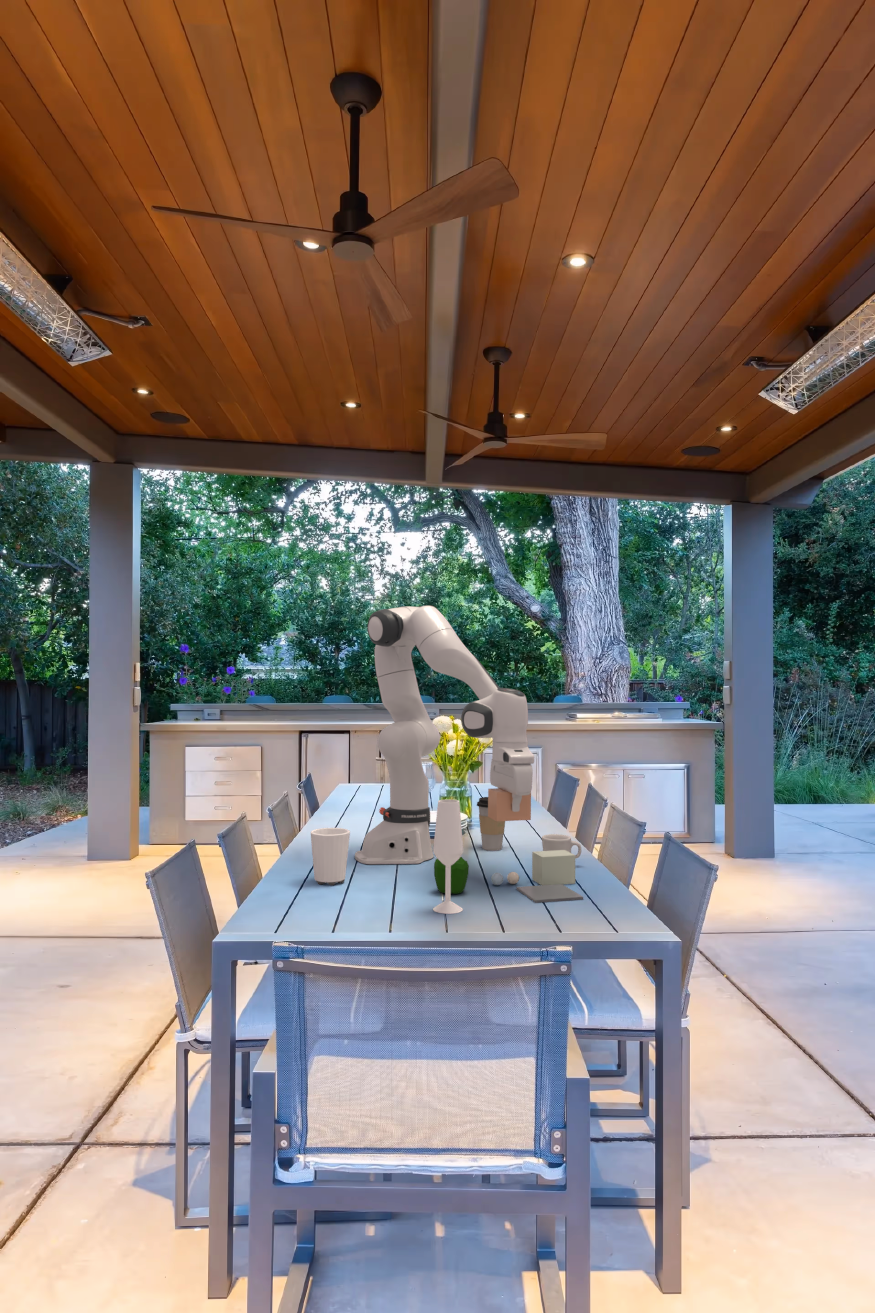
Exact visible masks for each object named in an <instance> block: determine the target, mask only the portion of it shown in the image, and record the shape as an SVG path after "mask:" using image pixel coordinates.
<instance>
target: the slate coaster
mask: <svg viewBox="0 0 875 1313" xmlns="http://www.w3.org/2000/svg"><path fill="white" fill-rule="evenodd" d="M516 891H518V892H519V893H520V894H522V895H524V896H525V895H526V896H527V897H526V896H525V897H526V898H528V899H529V900H531V901H532V900H533V903H535V904H539V903H549V902H550V903H553V902H566V901H578V900H581V901H582V900H584V896H583V895H581V894H579V893H578V892H576V891H575V890H573V889H571V888H570V887H568V886H567V885H565V884H555V885H540V884H539V885H530V886H529V885H528V886H527V885H526V886H516Z"/></svg>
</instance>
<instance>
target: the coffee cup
mask: <svg viewBox="0 0 875 1313" xmlns="http://www.w3.org/2000/svg"><path fill="white" fill-rule="evenodd" d="M476 806H477V807H478V813H479V814H478V820H479V831H480V832H479V833H480V834H481V835H480V836H481V845H482V846H481V847H482V850H484V851H490V852H491V851H492V852H493V851H494V852H495V851H496V852H497V851H501V850H502V849H503V841H504V833H505V827H506V826H505V825H506V821H495V820H493V819H491V818H489V817H488V796H482V797H480V798H478V801H476Z"/></svg>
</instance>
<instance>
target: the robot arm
mask: <svg viewBox="0 0 875 1313" xmlns="http://www.w3.org/2000/svg"><path fill="white" fill-rule="evenodd" d="M366 626H367V628H366V629H367V631H366V632H367V635H368V636H369V637H368V638H369V639H370V641H371V642H372V643H373V644H375V647H374V666H375V674H376V678H377V683H378V687H379V692H380V693H379V694H380V698H381V702H382V705H383V707H384V708H385V709H386V710H387V711H388V713H389V714H390V716H391V718H392V720H393V722H392V723H390V724H388V725H387V726H385V727H384V728H383V729H381V730H380V732H379V734H378V737H377V748H378V751H379V752H380V754H381V755H382V756H383V757H384V760H385V763H386V767H387V768H386V769H387V771H388V776H389V777H388V779H389V801H390V802H389V806H388V807H387V808H385V807H384V806H383V807H380V808H379V810H378V811H379V812H378V813H379V814H380V815H382V821H381V822H380V823H378V824H377V825H376V826H375V827H373V828H372V829H371V830H369V831H368V832H367V833H366V834H365V836H364V839H363V844H362V848H361V850H357V851H356V852H355V853H354V859H355V860H356V861H357V862H359V863H361V864H365V865H400V864H401V865H405V864H406V865H409V864H411V865H414V864H415V865H416V864H421V863H423V862H425V861H429V860H431V859H433V858H434V856H435V854H434V851H433V848H432V842H431V836H430V826H431V810H430V809H431V807H430V806H429V795H430V794H429V789H430V788H429V784H430V783H429V779H428V777H427V775H426V773H425V771H424V768H423V763H422V758H424V757H426V756H428V755H429V754H431V753H433V752H434V751H435V750H436V749H437V748H438V746H439V745H440V741H441V735H440V734H441V733H440V732H439V729H438V726H436V725H435V724H434V723H433V721H432V720H431V718H430V716H429V713H428V711H427V709H426V707H425V704H424V702H423V700H422V697H421V694H420V690H419V689H420V688H419V686H418V684H419V683H418V680H417V677H416V671H415V667H414V663H413V660H412V651H413V649H414V648H417V649H418V651H419V653H420V655H421V657H422V658H423V660H424V661H425V663H426V664H427V665H428V666H429V668H431V669H432V670H433V671H434V672H437V673H439V674H443V675H445V676H450V677H452V678H455V679H458V680H460V681H462V682H463V683H465V684H466V685H468V686H469V687H470V689H471V690H472V691H473V692H474V694H475V695H476V696H477V698H478V699H479V700H475V701H472V702H469V703H467V704H466V705H464V706H465V707H464V708H463V710H462V712H461V716H460V717H461V718H460V721H461V722H460V723H461V727H462V729H463V731H464V732H465V733H466V735H467V736H469V737H472V738H474V739H489V738H490V739H492V746H491V747H492V756H491V757H492V758H491V762H490V770H489V771H490V772H489V773H490V775H489V779H490V780H489V781H490V785H491V786H493V787H495V788H500V789H503V790H505V791H508V792H510V793H512V798H513V800H512V804H511V810H512V811H514V812H518V811H519V810H520V802H521V799H522V795H530V793H531V794H532V789H533V771H534V770H533V765H532V764H534V763H535V754H534V753H533V752H531V750H530V747H528V746H529V744H528V743H529V741H528V737H527V729H528V725H529V711H528V710H529V708H528V702H527V697H526V695H525V693H524V692H522V691H521V690H517V689H513V688H508V687H507V688H506V687H500V686H499V684H497V682H496V680H494V679H493V677H492V676H491V674H490V673H489V671H488V670H487V669H486V668H485V667H484V665H483V664H482V663H481V662H480V661H479V659H478V658H477V657H476V656H475V655H474V654H472V653H471V652H470V650H469V649H468V648H467V647H466V646H465V644H464V643H463V642H462V640H461V639H460V637H459V636H458V635H457V632H456V631H455V630H454V629H453V627H452V625H451V623H450V622H449V621H448V620H447V619H446V617H445V616H444V615H443V614H442V613H441V612H440V611H439V609H438V608H437V607H435V606H433V605H422V606H400V607H392V608H381V609H379V610H376V611H374V612H372V613H371V615H369V617H368V620H367V624H366Z"/></svg>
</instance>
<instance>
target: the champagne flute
mask: <svg viewBox="0 0 875 1313" xmlns="http://www.w3.org/2000/svg"><path fill="white" fill-rule="evenodd" d="M436 808H437V811H436V819H435V829H434V840H433V848H432V851H433V855H434V856H435V857H436V859H437V858H438V860H439V861H440V862H441V863H442V864H444V865H445V866H446V876H445V893H444V894H445V897H444V898H445V899H444V901H443V902H440V903H439V904H438V905H435V906H434V907H433V908H432V910H433V911H434V912H436V913H439V914H446V915H448V914H449V915H450V914H451V915H452V914H458V913H461V912H463V910H464V909H463V908H462V907H461V906H460V905H458V904H457V903H454V902H453V901H452V900H451V894H452V893H451V865H453V864H454V863H455V862H456V861H457V860H458V859H459V858H460V857H462V855H463V853H464V842H463V831H462V830H463V829H462V818H461V806H460V800H457V799H440V800H438V801H437V807H436Z"/></svg>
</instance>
